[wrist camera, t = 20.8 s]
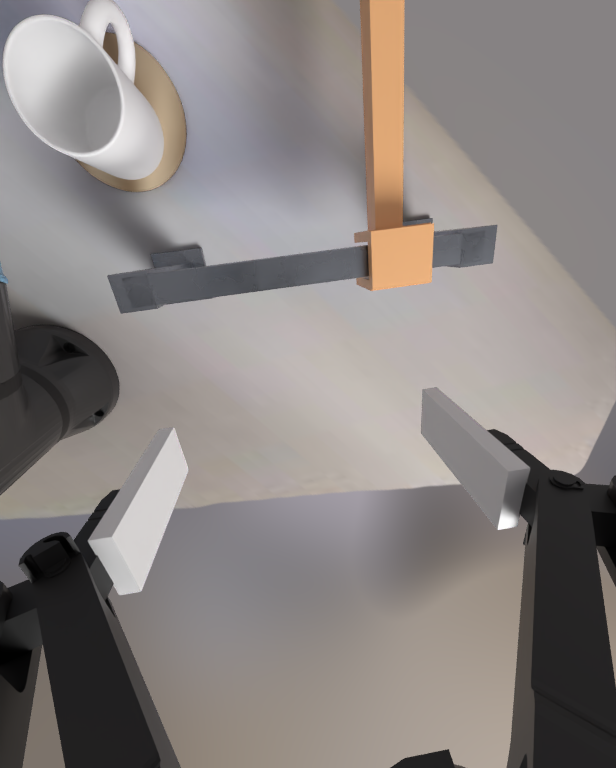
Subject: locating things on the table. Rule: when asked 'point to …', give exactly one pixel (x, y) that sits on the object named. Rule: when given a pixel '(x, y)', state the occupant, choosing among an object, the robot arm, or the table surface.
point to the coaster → (168, 111)
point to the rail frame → (277, 269)
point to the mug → (83, 91)
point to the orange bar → (388, 155)
